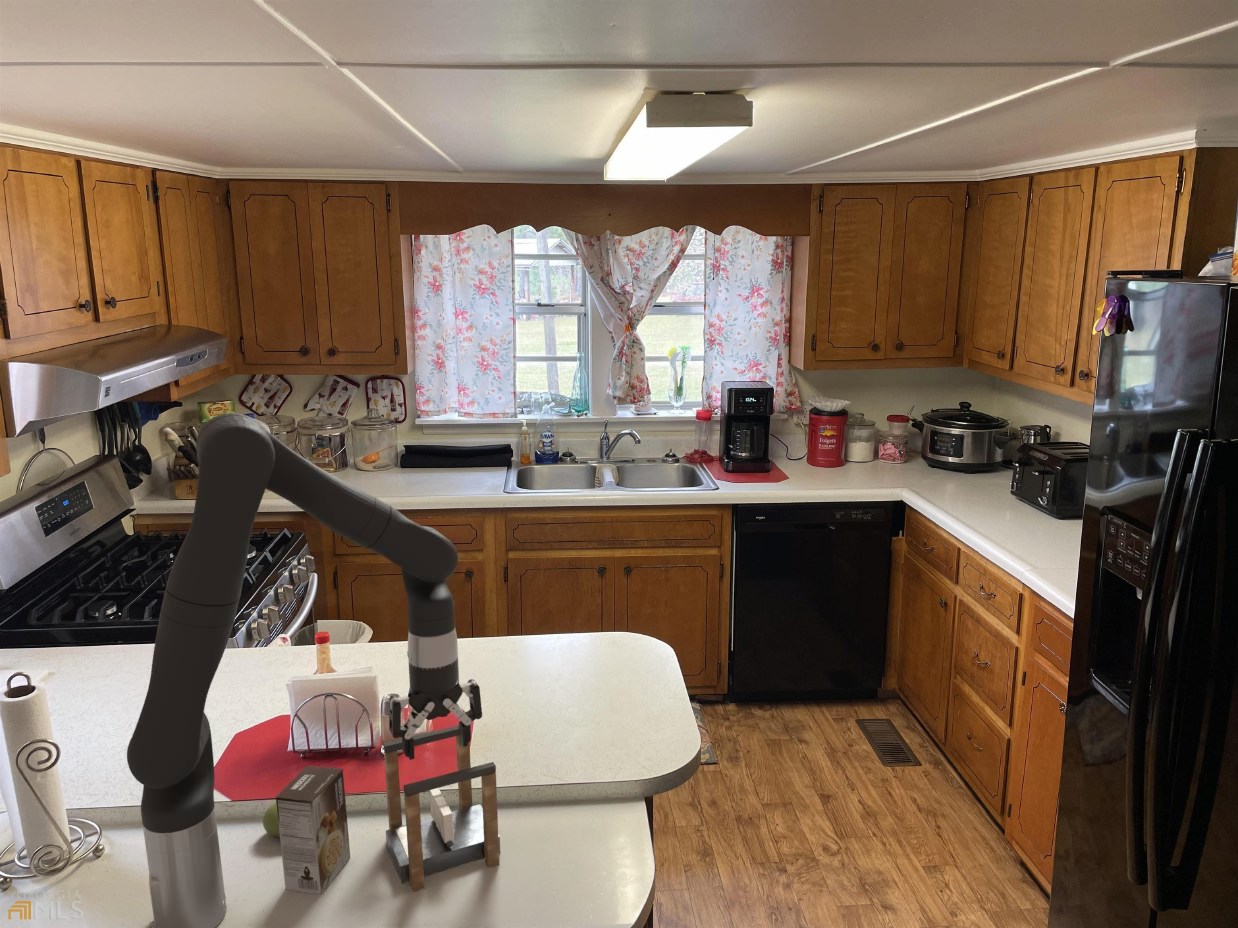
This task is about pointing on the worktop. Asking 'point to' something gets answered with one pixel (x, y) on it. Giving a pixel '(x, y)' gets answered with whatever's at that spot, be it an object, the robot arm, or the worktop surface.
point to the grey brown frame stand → (464, 802)
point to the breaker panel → (441, 843)
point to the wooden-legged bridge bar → (423, 738)
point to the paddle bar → (442, 816)
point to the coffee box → (313, 829)
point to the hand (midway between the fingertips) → (437, 750)
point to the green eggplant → (271, 821)
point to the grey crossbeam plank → (449, 779)
